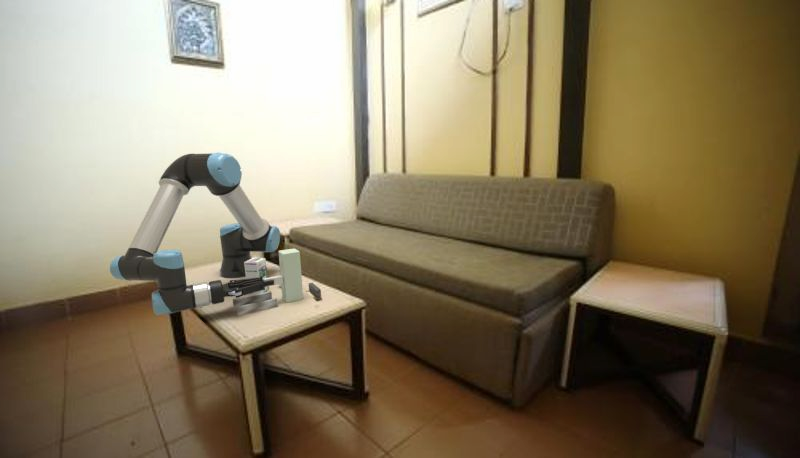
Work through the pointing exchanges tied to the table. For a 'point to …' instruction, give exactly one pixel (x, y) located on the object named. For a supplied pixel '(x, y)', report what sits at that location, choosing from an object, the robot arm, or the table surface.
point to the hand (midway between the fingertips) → (282, 279)
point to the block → (291, 274)
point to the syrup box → (256, 271)
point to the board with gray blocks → (266, 301)
